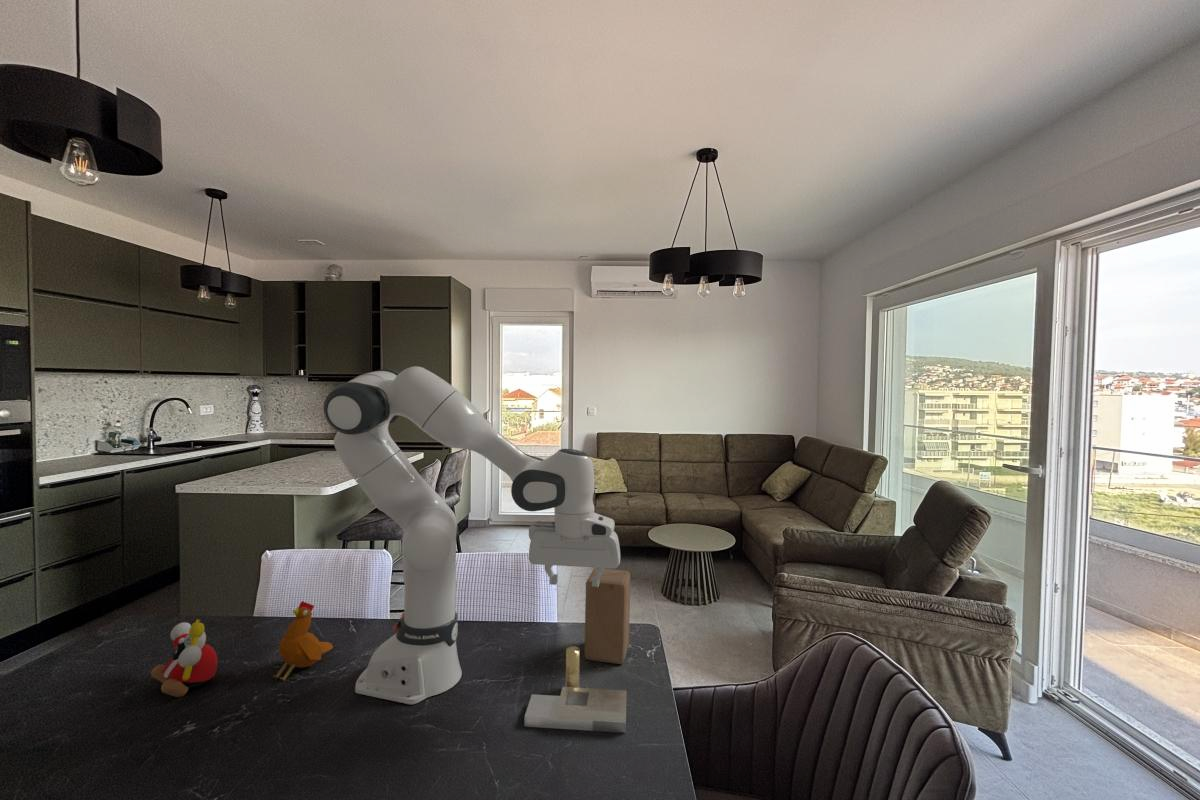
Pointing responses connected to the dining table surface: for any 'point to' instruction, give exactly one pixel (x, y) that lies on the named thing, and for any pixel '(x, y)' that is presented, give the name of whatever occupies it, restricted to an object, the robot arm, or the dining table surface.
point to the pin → (572, 666)
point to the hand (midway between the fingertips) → (574, 584)
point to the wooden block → (607, 616)
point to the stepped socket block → (579, 710)
